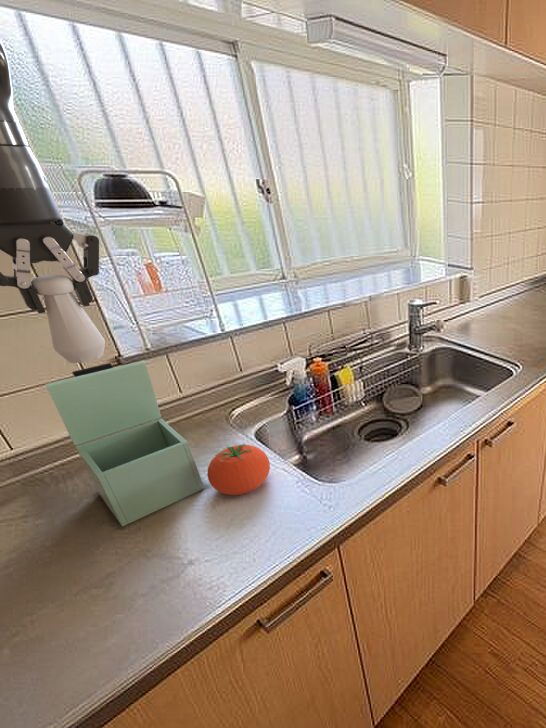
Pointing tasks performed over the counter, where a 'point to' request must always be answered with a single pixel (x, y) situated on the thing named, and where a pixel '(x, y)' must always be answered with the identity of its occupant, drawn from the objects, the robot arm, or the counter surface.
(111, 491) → the mint green box
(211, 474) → the tomato
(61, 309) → the salt shaker
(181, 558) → the counter surface
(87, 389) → the green box lid
